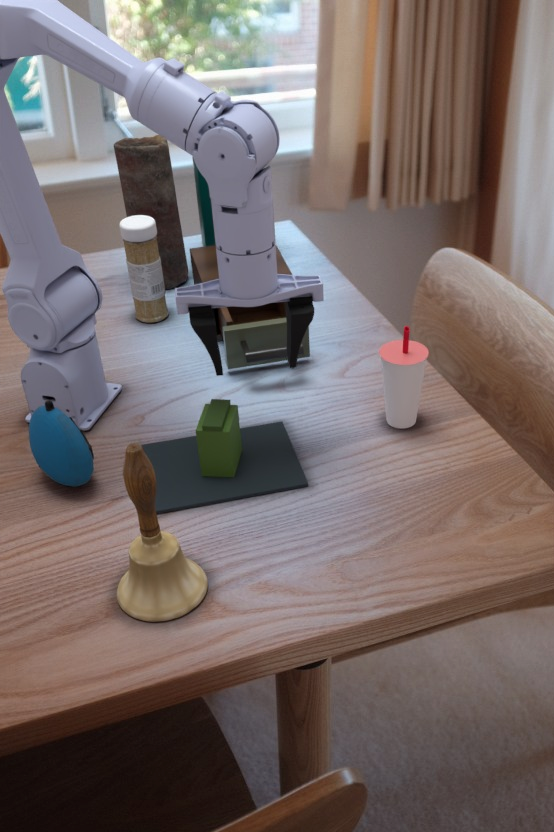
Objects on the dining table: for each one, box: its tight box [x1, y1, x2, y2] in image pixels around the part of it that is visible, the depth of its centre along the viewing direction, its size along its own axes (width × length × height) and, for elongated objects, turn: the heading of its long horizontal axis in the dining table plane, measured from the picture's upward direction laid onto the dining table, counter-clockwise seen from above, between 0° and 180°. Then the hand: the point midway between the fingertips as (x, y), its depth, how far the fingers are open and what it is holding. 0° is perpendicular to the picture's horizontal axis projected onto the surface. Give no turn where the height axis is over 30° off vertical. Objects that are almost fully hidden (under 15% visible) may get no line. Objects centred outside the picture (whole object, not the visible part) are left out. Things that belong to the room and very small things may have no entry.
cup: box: [378, 325, 430, 430], centre depth 100 cm, size 5×5×12 cm
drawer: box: [215, 302, 311, 370], centre depth 114 cm, size 17×10×5 cm, turn 16°
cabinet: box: [189, 245, 293, 341], centre depth 122 cm, size 14×12×7 cm
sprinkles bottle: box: [119, 215, 169, 324], centre depth 120 cm, size 5×5×13 cm
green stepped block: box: [195, 398, 242, 478], centre depth 95 cm, size 5×4×6 cm
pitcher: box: [191, 155, 216, 247], centre depth 132 cm, size 10×8×22 cm
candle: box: [113, 134, 189, 290], centre depth 126 cm, size 8×7×20 cm
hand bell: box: [116, 442, 209, 622], centre depth 78 cm, size 8×8×16 cm
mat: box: [140, 421, 309, 515], centre depth 97 cm, size 12×16×1 cm
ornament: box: [28, 400, 95, 487], centre depth 93 cm, size 8×5×10 cm, turn 53°
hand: (255, 366), depth 95 cm, fingers open, 7 cm apart
